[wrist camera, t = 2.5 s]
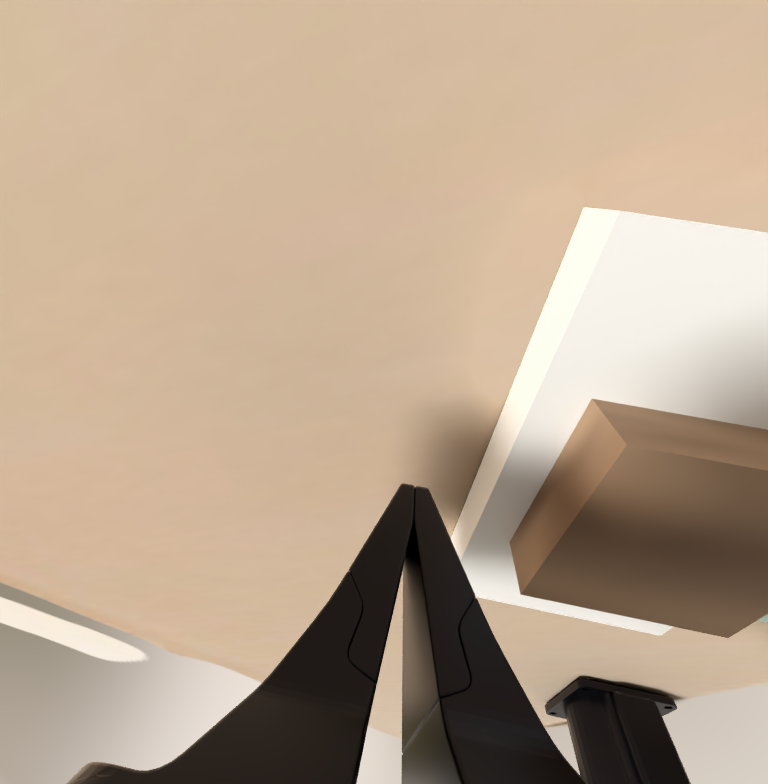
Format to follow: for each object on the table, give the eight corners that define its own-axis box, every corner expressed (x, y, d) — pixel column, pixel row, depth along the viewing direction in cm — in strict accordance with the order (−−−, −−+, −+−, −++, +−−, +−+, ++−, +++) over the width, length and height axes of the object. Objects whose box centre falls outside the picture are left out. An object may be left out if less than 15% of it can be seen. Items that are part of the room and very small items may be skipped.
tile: (688, 578, 13) (727, 637, 11) (509, 542, 13) (520, 594, 11) (851, 444, 9) (948, 503, 7) (592, 398, 9) (626, 444, 7)
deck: (637, 590, 17) (660, 635, 15) (445, 551, 17) (446, 590, 15) (990, 267, 8) (1137, 287, 6) (584, 207, 8) (620, 211, 7)
